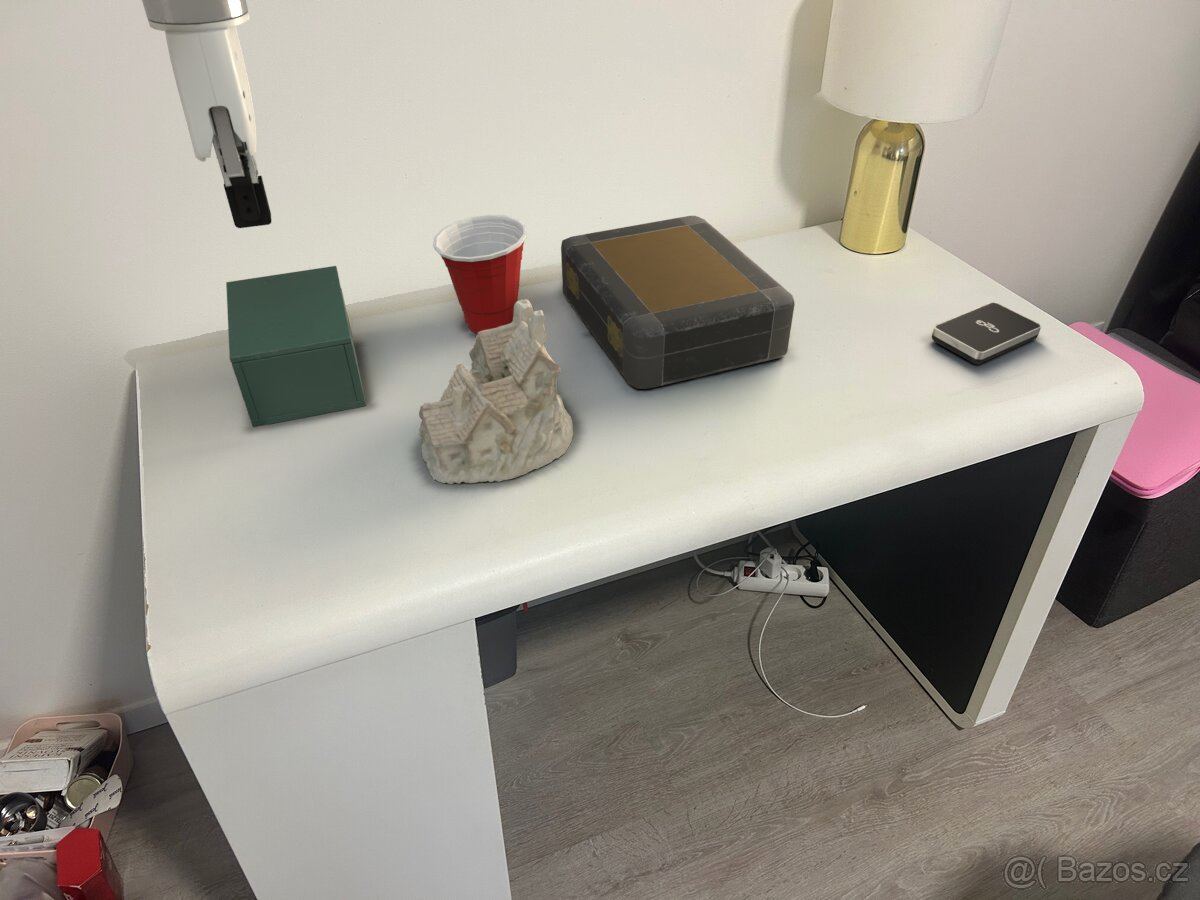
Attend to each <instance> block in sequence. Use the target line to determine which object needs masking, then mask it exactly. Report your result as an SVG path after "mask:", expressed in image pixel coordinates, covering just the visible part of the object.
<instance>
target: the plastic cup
mask: <svg viewBox="0 0 1200 900" xmlns="http://www.w3.org/2000/svg"><path fill="white" fill-rule="evenodd" d="M527 231H528V230H527V225H526V224H525V223H524V222H523V221H521V220H520V219H519V218H517V217H516V218H515V217H512V216H509V215H504V214H482V215H476V216H470V217H466V218H463V219H460V220H457V221H454V222H452V223H450V224H449V225H447V226H444V227H443V228H441V229H440V230H439V231H438V233H436V234H435V236H433V242H432V247H433V249H434V250H435V251H436V253H438V255H440V257H441V260H442V261H443V263H444V265H445V267H446V269H447V271H448V274H449V277H450V280H451V283H452V286H453V289H454V292H455V295H456V298H457V301H458V304H459V305H460V307H461V310H462V314H463V317H464V320H465V323H466V324H467V327H468V329H469V330H470V331H471V332H472V333H474V334H478V332H480V331H483V330H488V329H493V328H497V327H500V326H503V325H507V324H510V323H511V322H513V316H514V305H515V303H516V302H517V301H519V291H520V281H521V280H520V278H521V269H522V268H521V267H522V260H523V251H524V244H525V240H526V239H527V235H528V233H527Z"/></svg>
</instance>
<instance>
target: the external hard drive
mask: <svg viewBox="0 0 1200 900" xmlns="http://www.w3.org/2000/svg"><path fill="white" fill-rule="evenodd" d="M1041 328H1042V324H1041V323H1039V322H1037V321H1035V320H1034V319H1031V318H1029V317H1027V316H1025V315H1023V314H1021V313H1019V312H1017V311H1014V310H1013V309H1010V307H1009V308H1008V307H1006V306H1004V305H1003V304H1000V303H998V302H995V301H991V302H987V303H986V304H984V305H981V306H979V307H975V308H974V309H971V310H969V311H966V312H964V313H961V314H959V315H957V316H954V317H952V318H949V319H946V320H944V321H941V322H939V323H936V324H935V325H934V326H933V329H932V332H931V340H932V341H933V342H935V343H937V344H938V345H940V346H942V347H943V348H945V349H947V350H949V351H951V352H953V353H954V354H956V355H958V356H960V357H961V358H963V359H965V360H966V361H968V362H970V363H971V364H973V365H980V364H982V363H984V362H986V361H989V360H992V359H993V358H996V357H998V356H1000V355H1002V354H1005V353H1007V352H1009V351H1011V350H1014V349H1016V348H1019V347H1020V346H1023V345H1025V344H1027V343H1029V342H1031V341H1033V340H1035V339H1037V338H1038V336H1039V334H1040V332H1041Z"/></svg>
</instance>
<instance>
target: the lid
mask: <svg viewBox="0 0 1200 900" xmlns="http://www.w3.org/2000/svg"><path fill="white" fill-rule="evenodd" d="M225 286H226V287H225V288H226V309H227V330H228V331H227V332H228V353H229V355H228V356H229V360H230V363H231V364H232V363H237V362H243V361H248V360H254V359H260V358H266V357H272V356H277V355H283V354H289V353H295V352H301V351H307V350H312V349H318V348H324V347H330V346H336V345H341V344H347V343H351V342H352V341H351V336H350V331H349V326H348V321H347V316H346V311H347V310H346V311H345V306H346V305H345V306H344V302H345V300H344V301H343V297H344V295H343V296H342V293H343V290H342V291H341V289H342V286H341V281H340V277H339V271H338V267H337V266H336V265H331V266H324V267H319V268H312V269H311V268H310V269H306V270H299V271H298V270H297V271H292V272H285V273H277V274H271V275H265V276H258V277H251V278H245V279H239V280H238V279H237V280H231V281H226V283H225Z"/></svg>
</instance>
